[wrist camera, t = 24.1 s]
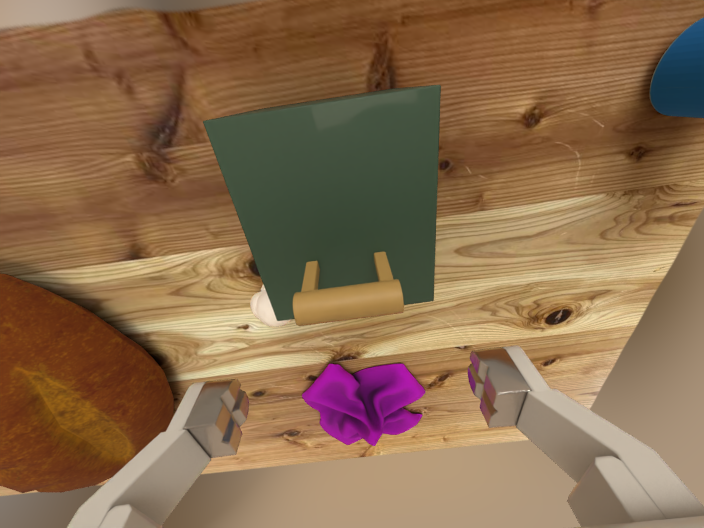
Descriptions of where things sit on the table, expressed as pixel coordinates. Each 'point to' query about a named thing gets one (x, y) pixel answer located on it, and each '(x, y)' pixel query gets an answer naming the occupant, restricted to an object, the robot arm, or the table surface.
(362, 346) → the table surface
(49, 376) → the bread
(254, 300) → the microfossil shell
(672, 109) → the beverage can
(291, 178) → the bin lid
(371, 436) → the cloth
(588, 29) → the table surface
